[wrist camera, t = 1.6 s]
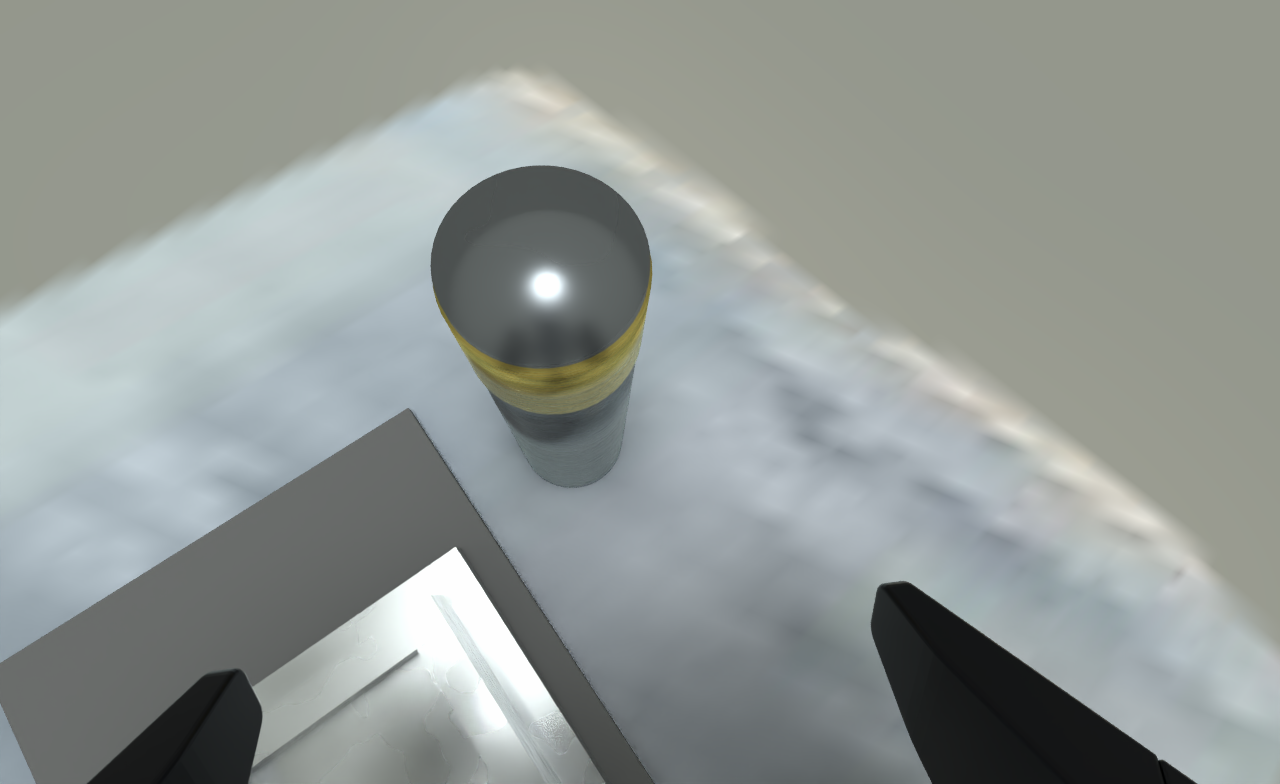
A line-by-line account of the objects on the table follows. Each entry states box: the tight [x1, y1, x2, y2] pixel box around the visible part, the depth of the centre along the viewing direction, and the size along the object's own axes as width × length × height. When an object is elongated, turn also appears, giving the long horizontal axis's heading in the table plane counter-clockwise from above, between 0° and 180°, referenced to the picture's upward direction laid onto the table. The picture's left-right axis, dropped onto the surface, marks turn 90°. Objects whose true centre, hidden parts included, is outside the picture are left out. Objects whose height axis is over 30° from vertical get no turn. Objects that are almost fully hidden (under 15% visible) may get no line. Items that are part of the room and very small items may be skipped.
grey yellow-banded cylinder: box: [431, 166, 652, 488], centre depth 16 cm, size 4×4×13 cm
